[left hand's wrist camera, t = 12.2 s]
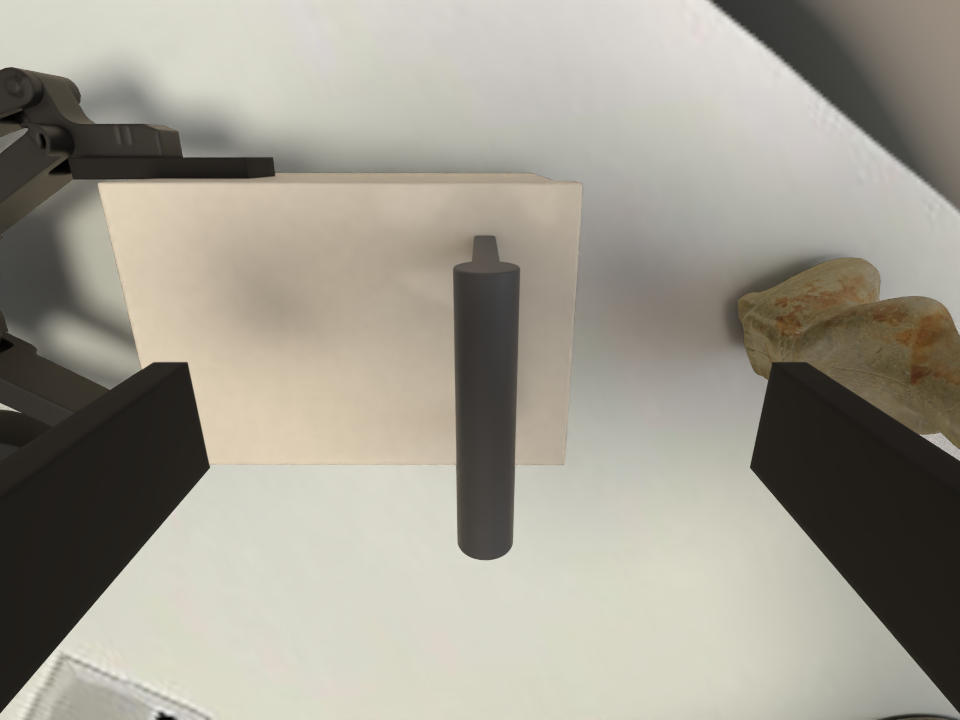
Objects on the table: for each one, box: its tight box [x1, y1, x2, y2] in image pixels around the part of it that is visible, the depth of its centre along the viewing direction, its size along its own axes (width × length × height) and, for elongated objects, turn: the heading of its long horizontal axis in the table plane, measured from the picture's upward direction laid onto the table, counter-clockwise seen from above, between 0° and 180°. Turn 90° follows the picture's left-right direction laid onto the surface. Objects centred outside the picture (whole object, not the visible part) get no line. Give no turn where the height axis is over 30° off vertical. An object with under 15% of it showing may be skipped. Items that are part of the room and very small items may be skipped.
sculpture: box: [738, 258, 960, 449], centre depth 22 cm, size 6×7×15 cm
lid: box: [98, 181, 583, 560], centre depth 16 cm, size 15×10×8 cm, turn 90°
